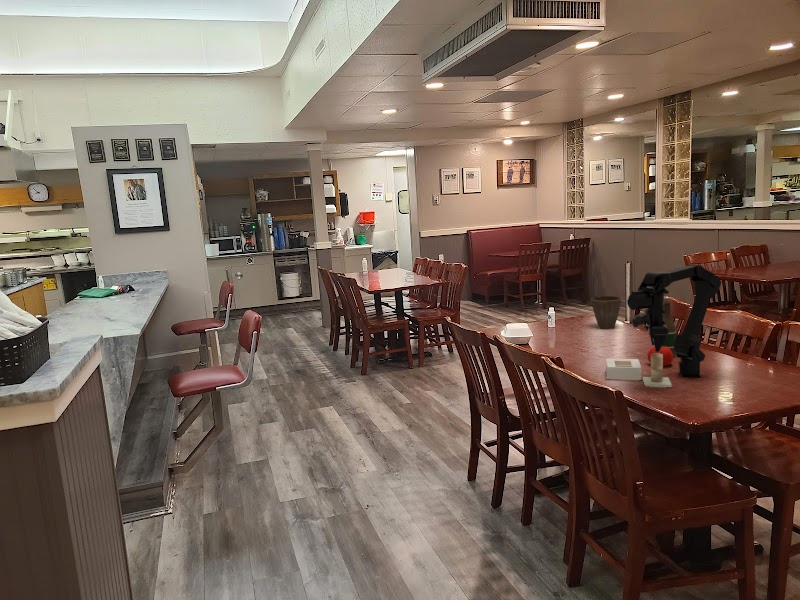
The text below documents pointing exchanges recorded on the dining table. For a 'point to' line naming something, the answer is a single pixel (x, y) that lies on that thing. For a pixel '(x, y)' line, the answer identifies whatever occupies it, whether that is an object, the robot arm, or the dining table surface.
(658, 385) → the rest pad
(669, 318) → the beer bottle
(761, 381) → the dining table surface
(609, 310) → the plant pot
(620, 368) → the box
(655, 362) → the tan cylinder
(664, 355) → the tomato
